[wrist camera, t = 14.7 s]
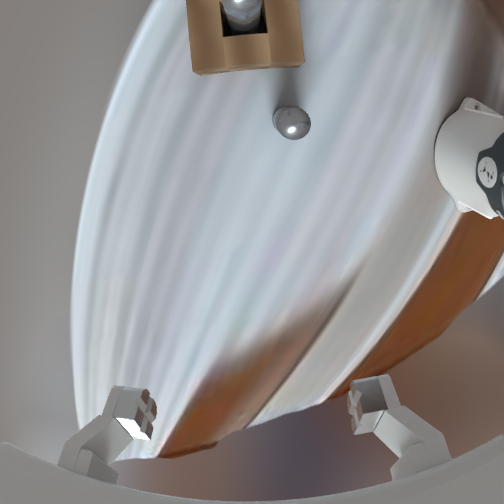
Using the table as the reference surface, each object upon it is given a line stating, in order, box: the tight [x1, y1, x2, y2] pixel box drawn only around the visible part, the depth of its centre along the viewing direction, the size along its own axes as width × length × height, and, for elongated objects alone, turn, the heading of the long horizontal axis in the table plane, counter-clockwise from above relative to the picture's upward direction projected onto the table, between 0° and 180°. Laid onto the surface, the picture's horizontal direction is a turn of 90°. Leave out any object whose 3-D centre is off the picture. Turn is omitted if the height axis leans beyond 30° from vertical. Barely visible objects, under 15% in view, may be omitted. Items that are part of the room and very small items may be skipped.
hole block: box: [186, 0, 305, 76], centre depth 25 cm, size 12×12×5 cm
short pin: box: [272, 107, 311, 140], centre depth 31 cm, size 4×4×7 cm
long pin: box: [222, 0, 261, 36], centre depth 22 cm, size 4×4×14 cm
